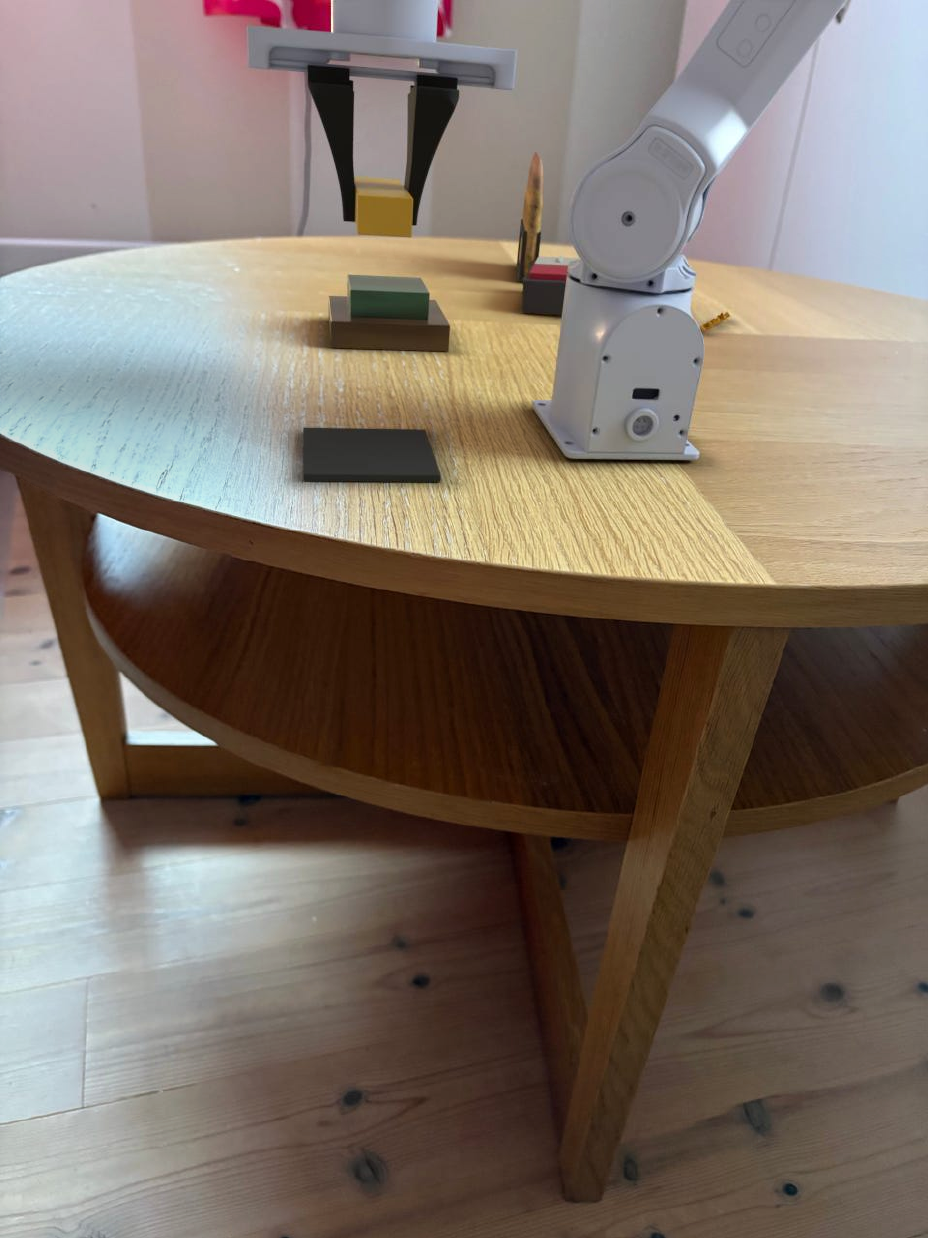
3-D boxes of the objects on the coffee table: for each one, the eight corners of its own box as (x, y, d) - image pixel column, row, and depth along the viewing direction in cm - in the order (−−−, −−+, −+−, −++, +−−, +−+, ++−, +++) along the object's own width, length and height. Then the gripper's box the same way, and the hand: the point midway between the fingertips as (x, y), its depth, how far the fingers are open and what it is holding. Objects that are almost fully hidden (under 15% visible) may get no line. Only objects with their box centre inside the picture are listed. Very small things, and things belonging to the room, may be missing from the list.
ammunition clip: (516, 265, 104) (527, 150, 98) (532, 266, 104) (544, 151, 98) (518, 282, 95) (530, 156, 89) (535, 283, 95) (549, 158, 89)
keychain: (721, 319, 86) (723, 308, 85) (731, 321, 85) (733, 310, 85) (694, 332, 80) (696, 321, 79) (705, 334, 79) (708, 323, 79)
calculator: (533, 252, 90) (685, 259, 88) (531, 297, 92) (678, 304, 90) (522, 270, 80) (691, 278, 78) (520, 319, 82) (684, 328, 81)
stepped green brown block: (448, 351, 68) (452, 297, 66) (331, 348, 67) (330, 292, 65) (434, 323, 76) (437, 274, 74) (328, 320, 75) (328, 269, 73)
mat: (440, 482, 46) (440, 475, 46) (303, 481, 45) (303, 473, 45) (425, 435, 52) (425, 429, 52) (303, 433, 51) (303, 426, 50)
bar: (411, 237, 49) (413, 197, 48) (357, 234, 49) (357, 194, 48) (398, 213, 58) (399, 179, 57) (351, 210, 57) (351, 175, 56)
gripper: (509, -40, 51) (488, 219, 58) (248, -68, 48) (259, 204, 55) (534, -55, 45) (507, 235, 52) (238, -88, 42) (252, 220, 49)
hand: (379, 221), depth 53 cm, fingers closed on bar, 3 cm apart
